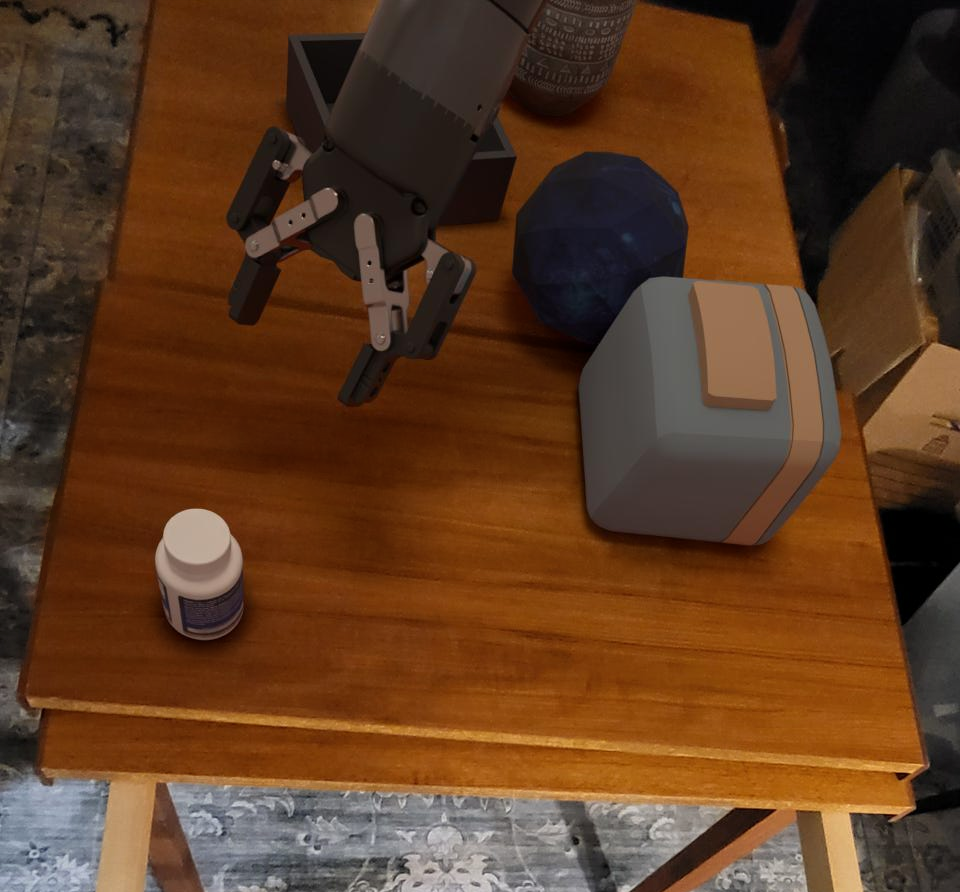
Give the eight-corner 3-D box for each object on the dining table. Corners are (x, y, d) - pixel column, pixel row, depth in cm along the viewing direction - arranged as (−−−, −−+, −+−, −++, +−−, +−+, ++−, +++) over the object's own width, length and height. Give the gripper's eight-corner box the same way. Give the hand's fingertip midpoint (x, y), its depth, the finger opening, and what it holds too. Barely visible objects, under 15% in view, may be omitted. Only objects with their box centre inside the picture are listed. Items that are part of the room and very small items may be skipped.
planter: (459, 71, 94) (488, -68, 83) (536, 30, 99) (573, -107, 88) (549, 147, 93) (591, 16, 81) (622, 101, 98) (672, -29, 86)
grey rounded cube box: (769, 557, 79) (883, 443, 65) (582, 538, 76) (659, 413, 61) (744, 398, 85) (843, 262, 71) (571, 374, 82) (638, 227, 68)
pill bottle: (259, 601, 68) (260, 530, 59) (211, 656, 65) (205, 591, 56) (197, 559, 68) (189, 482, 59) (147, 612, 65) (131, 541, 57)
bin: (335, 235, 82) (342, 168, 76) (285, 107, 87) (288, 34, 81) (498, 220, 87) (517, 156, 81) (443, 99, 92) (457, 30, 86)
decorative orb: (731, 313, 82) (720, 119, 72) (614, 387, 76) (585, 185, 66) (609, 297, 91) (586, 124, 82) (496, 361, 85) (457, 182, 76)
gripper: (283, -11, 47) (165, 290, 54) (508, 142, 45) (354, 434, 52) (357, 39, 54) (243, 301, 61) (556, 174, 52) (414, 429, 59)
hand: (294, 362), depth 56 cm, fingers open, 8 cm apart
